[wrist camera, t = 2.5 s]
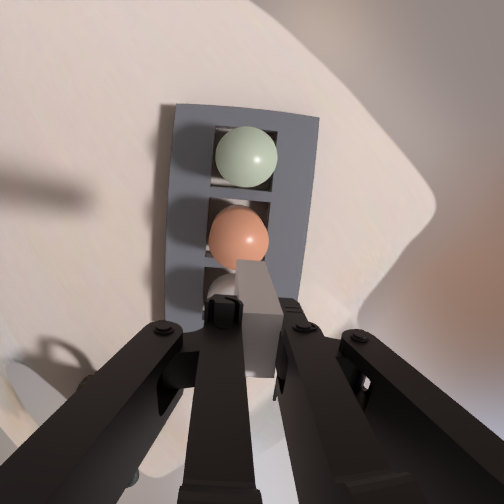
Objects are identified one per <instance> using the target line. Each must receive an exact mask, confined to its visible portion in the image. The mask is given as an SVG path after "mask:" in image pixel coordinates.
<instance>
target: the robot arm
mask: <svg viewBox="0 0 504 504" xmlns="http://www.w3.org/2000/svg"><path fill="white" fill-rule="evenodd" d="M275 367H276V371H277V378H276V384H275V389H274V395H273V401H276V397H277V396H278V401H279V406H280V411H281V416H282V421H283V426H284V431H285V436H286V441H287V446H288V451H289V456H290V461H291V466H292V471H293V476H294V481H295V485H296V491H297V495H298V501H299V504H504V441H503V440H502V439H501V438H499V437H498V436H497V435H496V434H495V433H494V432H492V431H491V430H490V429H489V428H487V427H486V426H485V425H484V424H482V423H481V422H480V421H479V420H477V419H476V418H475V417H474V416H472V414H470V413H469V412H468V411H467V410H465V409H464V408H463V407H462V406H461V405H459V404H458V403H457V402H456V401H454V400H453V399H452V398H451V397H449V396H448V395H447V394H446V393H444V392H443V391H442V390H441V389H439V388H438V387H437V386H436V385H434V384H433V383H432V382H431V381H430V380H428V379H427V378H426V377H425V376H423V375H422V374H421V373H420V372H418V371H417V370H416V369H415V368H414V367H412V366H411V365H410V364H408V363H407V362H406V361H405V360H404V359H402V358H401V357H400V356H398V355H397V354H396V353H394V351H392V350H391V349H390V348H389V347H387V346H386V345H385V344H384V343H382V342H381V341H380V340H379V339H377V338H376V337H375V336H374V335H372V334H370V333H369V332H366V331H364V330H361V329H360V330H359V329H350V330H346V331H344V332H343V333H342V336H341V340H339V339H333V338H328V337H324V335H323V333H322V331H321V329H320V328H319V327H318V326H317V325H316V324H314V323H311V322H308V320H307V318H306V316H305V314H304V313H303V310H302V309H301V306H300V304H299V302H297V301H296V300H294V299H293V298H283V297H277V294H276V291H275V289H274V286H273V283H272V280H271V277H270V274H269V272H268V269H267V266H266V263H265V261H254V260H241V259H237V263H236V275H235V287H234V295H223V294H214V295H213V296H211V297H210V298H207V299H206V301H205V310H204V326H203V328H201V329H199V330H197V331H193V332H185V333H183V329H182V327H181V326H180V325H179V324H177V323H174V322H171V321H166V320H162V321H161V320H159V321H155V322H151V323H149V324H148V325H146V326H145V327H144V328H143V329H142V330H141V331H140V332H138V333H137V334H136V335H135V336H134V337H133V338H132V339H131V340H130V341H129V342H128V343H127V344H126V345H125V346H124V347H123V348H121V349H120V350H119V351H118V352H117V353H116V354H115V355H114V356H113V357H112V358H111V359H110V360H109V361H108V362H107V363H106V364H105V365H104V366H102V367H101V368H100V369H99V370H98V371H97V372H96V373H95V374H94V375H93V376H92V377H91V378H90V379H89V380H88V381H87V382H86V383H85V384H84V385H83V386H82V387H80V388H79V389H78V390H77V391H76V392H75V393H74V394H73V395H72V396H71V397H70V398H69V399H68V400H67V401H66V402H65V403H64V404H63V405H62V406H61V407H60V408H59V409H58V410H57V411H56V412H55V413H54V414H53V415H52V416H50V417H49V418H48V419H47V420H46V421H45V422H44V423H43V425H41V426H40V427H39V428H38V429H37V430H36V431H35V432H34V433H33V434H32V435H31V436H30V437H29V438H28V439H27V440H26V441H25V442H24V443H23V444H22V445H21V446H20V447H19V448H18V449H17V450H16V451H15V452H14V453H13V454H12V455H11V456H10V457H9V458H8V459H7V460H6V461H5V462H4V463H3V464H2V465H1V466H0V504H116V503H117V501H118V500H119V498H120V497H121V495H122V493H123V492H124V490H125V488H126V487H127V485H128V484H129V482H130V480H131V479H132V477H133V475H134V474H135V472H136V471H137V469H138V467H139V466H140V464H141V462H142V461H143V459H144V458H145V456H146V454H147V453H148V451H149V449H150V448H151V446H152V444H153V443H154V441H155V439H156V438H157V436H158V434H159V433H160V431H161V430H162V428H163V426H164V425H165V423H166V421H167V420H168V418H169V416H170V415H171V413H172V411H173V410H174V408H175V406H176V405H177V403H178V401H179V400H180V398H181V396H182V395H183V391H184V388H191V387H194V395H193V402H192V410H191V418H190V426H189V434H188V442H187V450H186V459H185V469H184V477H183V484H182V486H180V488H179V493H178V500H177V504H263V503H262V498H261V493H260V490H258V489H256V485H255V476H254V466H253V454H252V443H251V432H250V421H249V410H248V398H247V386H246V377H259V378H274V374H275ZM366 377H367V378H369V380H370V381H371V383H370V386H369V388H368V389H366V388H365V387H364V386H363V385H364V382H365V378H366Z"/></svg>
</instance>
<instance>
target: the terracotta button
mask: <svg viewBox="0 0 504 504" xmlns="http://www.w3.org/2000/svg"><path fill="white" fill-rule="evenodd" d="M268 244H269V237H268V232H267V230H266V227H265V226H264V224H263V222H262V221H261V219H260V217H259V216H258V214H257V213H256V212H255V211H254V210H252V209H251V208H249V207H247V206H244V205H231V206H228V207H225V208H224V209H222V210H221V211H220V212H219V213H218V214H217V215H216V217H215V218H214V220H213V223H212V227H211V230H210V234H209V248H210V251H211V254H212V255H213V257H214V258H215V260H216V261H217V262H218V263H219V264H221V265H222V266H224V267H226V268H229V269H232V270H236V263H237V259H241V260H254V261H261V260H262V258H263V257H264V256H265V254H266V252H267V249H268Z"/></svg>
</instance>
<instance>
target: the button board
mask: <svg viewBox="0 0 504 504" xmlns="http://www.w3.org/2000/svg"><path fill="white" fill-rule="evenodd" d="M244 126H250V127H255V128H258V129H260V130H262V131H264V132H267V133H275V138H274V144H275V146H276V149H277V164H276V168H275V170H274V172H273V173H272V175H271V178H270V188H269V191H268V190H257V189H246V188H234V187H221V186H211V177H212V166H213V155H214V144H215V134H216V128H224V129H235V128H238V127H244ZM318 129H319V118H318V117H312V116H306V115H300V114H293V113H285V112H278V111H270V110H261V109H251V108H241V107H229V106H215V105H198V104H176V111H175V120H174V129H173V139H172V150H171V161H170V174H169V189H168V205H167V226H166V256H165V320H166V321H171V322H174V323H177V324H179V325H180V326H181V327H182V329H183V333H185V332H193V331H197V330H199V329H201V328H203V326H204V312H203V301H204V280H205V267H214V268H226V267H224V266H222V265H221V264H219V263H218V262H217V261H216V260H215V258H214V257H213V255H212V254H211V252H206V245H207V230H208V215H209V202H210V197H214V198H227V199H239V200H251V201H262V202H268V207H267V217H266V230H267V232H268V237H269V244H268V249H267V252H266V254H265V256H264V257H263V258H262V260H261V261H265V263H266V266H267V269H268V272H269V274H270V277H271V280H272V283H273V286H274V289H275V291H276V294H277V297H283V298H293V299H294V300H296V301H297V300H298V294H299V287H300V280H301V273H302V266H303V259H304V252H305V245H306V237H307V230H308V222H309V214H310V205H311V197H312V188H313V179H314V170H315V160H316V150H317V140H318ZM228 269H229V268H228Z"/></svg>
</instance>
